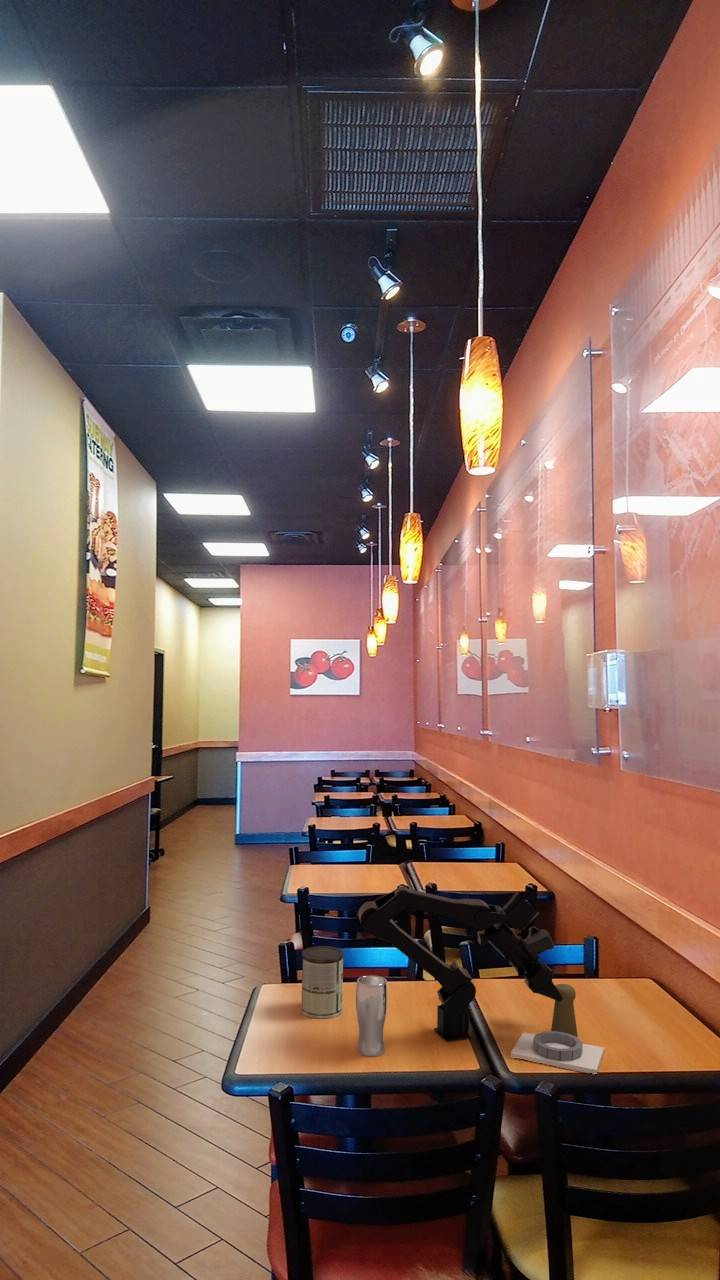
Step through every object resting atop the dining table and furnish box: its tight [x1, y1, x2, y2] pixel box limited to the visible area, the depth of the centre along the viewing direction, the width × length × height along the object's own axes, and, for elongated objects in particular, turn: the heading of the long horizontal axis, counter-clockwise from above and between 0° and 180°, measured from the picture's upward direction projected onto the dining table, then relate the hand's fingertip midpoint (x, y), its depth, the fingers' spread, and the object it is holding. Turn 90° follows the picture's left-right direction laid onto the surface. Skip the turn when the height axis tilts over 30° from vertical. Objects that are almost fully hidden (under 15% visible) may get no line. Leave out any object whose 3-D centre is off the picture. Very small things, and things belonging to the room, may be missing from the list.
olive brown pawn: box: [550, 983, 578, 1037], centre depth 188 cm, size 6×6×11 cm
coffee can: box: [300, 945, 345, 1020], centre depth 200 cm, size 10×10×14 cm
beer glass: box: [355, 975, 388, 1058], centre depth 177 cm, size 7×7×15 cm
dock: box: [510, 1030, 605, 1075], centre depth 177 cm, size 18×12×3 cm, turn 66°
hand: (555, 992), depth 188 cm, fingers open, 9 cm apart
